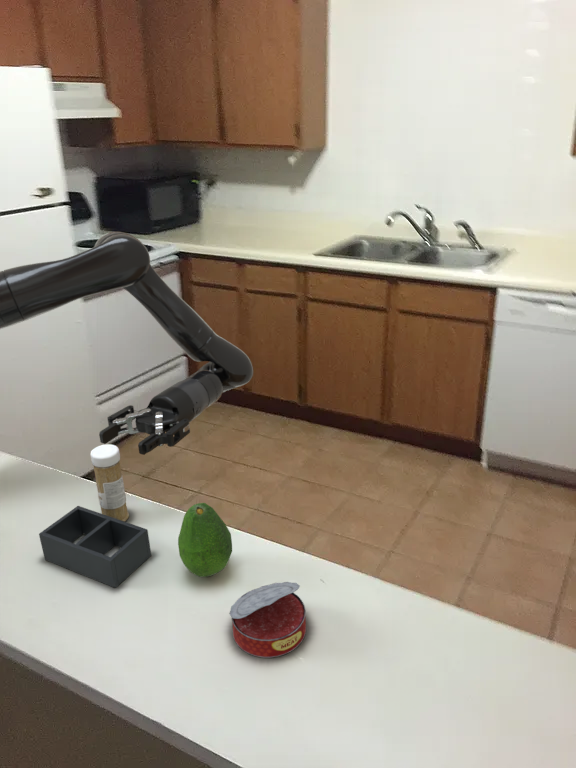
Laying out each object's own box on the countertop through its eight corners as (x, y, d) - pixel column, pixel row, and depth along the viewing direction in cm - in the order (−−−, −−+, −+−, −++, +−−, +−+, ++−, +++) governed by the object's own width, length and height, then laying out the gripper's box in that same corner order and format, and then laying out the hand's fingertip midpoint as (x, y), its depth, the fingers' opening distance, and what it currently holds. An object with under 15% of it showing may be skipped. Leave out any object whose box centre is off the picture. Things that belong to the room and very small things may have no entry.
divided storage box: (44, 559, 104) (38, 533, 102) (82, 530, 111) (77, 505, 109) (115, 588, 98) (110, 561, 96) (151, 555, 105) (147, 529, 103)
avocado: (171, 580, 99) (162, 513, 94) (199, 549, 106) (192, 485, 101) (218, 595, 96) (211, 527, 91) (244, 562, 102) (239, 496, 97)
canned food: (247, 680, 88) (206, 635, 83) (254, 618, 96) (216, 574, 92) (323, 655, 85) (284, 606, 80) (323, 592, 93) (287, 546, 89)
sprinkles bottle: (101, 514, 115) (89, 446, 110) (127, 508, 116) (117, 441, 111) (103, 529, 111) (90, 459, 106) (131, 523, 112) (120, 454, 107)
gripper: (147, 380, 126) (85, 416, 113) (209, 393, 119) (151, 433, 107) (151, 415, 129) (92, 454, 116) (212, 430, 123) (156, 473, 110)
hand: (120, 444), depth 111 cm, fingers open, 8 cm apart
